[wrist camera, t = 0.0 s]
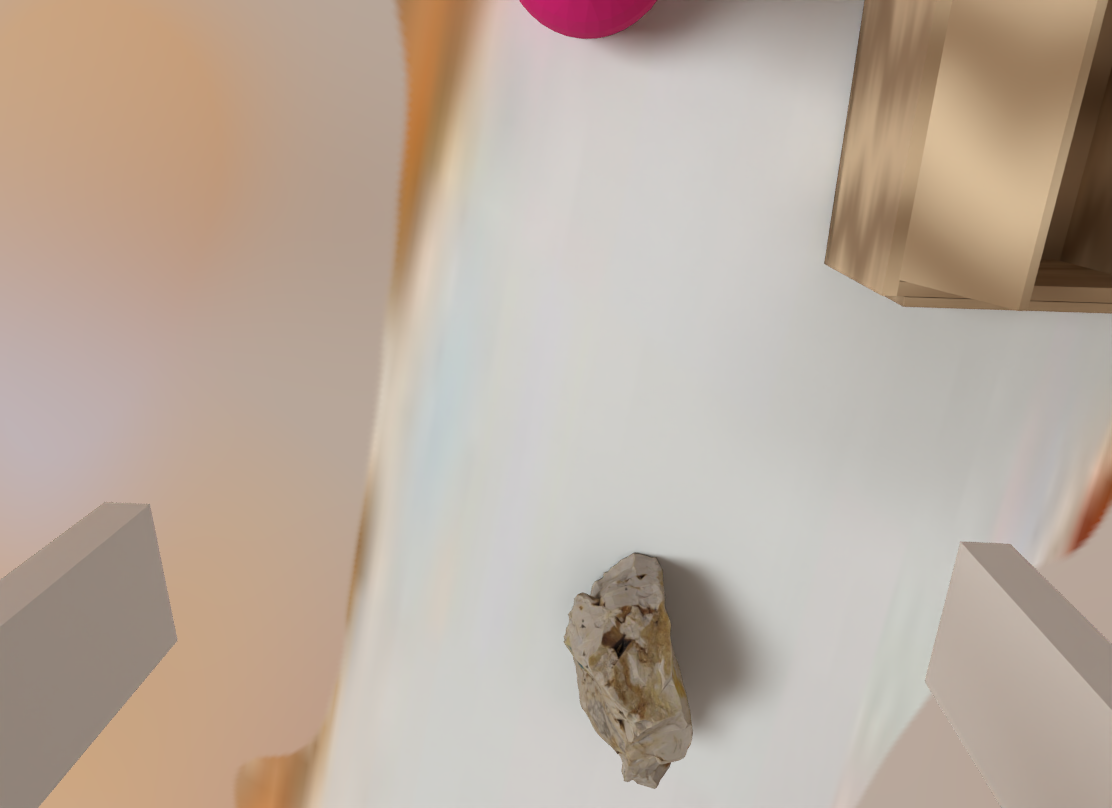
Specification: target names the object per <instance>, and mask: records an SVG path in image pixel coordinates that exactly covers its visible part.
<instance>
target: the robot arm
mask: <svg viewBox="0 0 1112 808" xmlns="http://www.w3.org/2000/svg"><path fill="white" fill-rule="evenodd" d="M176 641H177V636H176V631H175V626H174V621H173V616H172V611H171V606H170V602H169V596H168V591H167V586H166V581H165V577H164V572H163V567H162V562H161V557H160V552H159V547H158V542H157V537H156V532H155V527H154V522H153V517H152V513H151V508H150V504H134V503H113V502H104V503H103V504H102V505H100V506H99V507H98V508H96V509H95V510H94V511H92V512H91V513H90V514H88V515H87V516H86V517H84V518H83V519H82V520H80V521H79V522H77V523H76V524H75V525H73V526H72V527H71V528H69V529H68V530H67V531H65V532H64V533H63V534H61V535H60V536H59V537H57V538H56V539H54V540H53V541H52V542H50V543H49V544H48V545H47V546H45V547H44V548H42V549H41V550H40V551H38V552H37V553H36V554H34V555H33V556H32V557H30V558H29V559H28V560H26V561H25V562H24V563H22V564H21V565H20V566H18V567H17V568H15V569H14V570H13V571H11V572H10V573H9V574H7V575H6V576H5V577H3V578H2V579H1V580H0V808H38V807H39V806H40V805H41V803H42V802H43V801H44V800H45V799H46V798H47V796H48V795H49V794H50V793H51V792H52V790H53V789H54V788H55V787H56V786H57V784H58V783H59V782H60V781H61V780H62V778H63V777H64V776H65V775H66V773H67V772H68V771H69V770H70V769H71V768H72V766H73V765H74V764H75V763H76V762H77V760H78V759H79V758H80V757H81V755H82V754H83V753H84V752H85V751H86V750H87V748H88V747H89V746H90V745H91V743H92V742H93V741H94V740H95V739H96V738H97V736H98V735H99V734H100V733H101V731H102V730H103V729H104V728H105V727H106V726H107V724H108V723H109V722H110V721H111V720H112V718H113V717H114V716H115V715H116V714H117V712H118V711H119V710H120V709H121V708H122V706H123V705H124V704H125V703H126V702H127V700H128V699H129V698H130V697H131V696H132V694H133V693H134V692H135V691H136V690H137V688H138V687H139V686H140V685H141V684H142V682H143V681H144V680H145V679H146V678H147V676H148V675H149V674H150V673H151V671H152V670H153V669H154V668H155V667H156V666H157V664H158V663H159V662H160V661H161V660H162V658H163V657H164V656H165V655H166V654H167V652H168V651H169V650H170V649H171V648H172V646H173V645H174V644H175V643H176ZM925 683H926V684H927V686H928V688H929V689H930V691H931V693H932V694H933V696H934V698H935V699H936V701H937V702H938V704H939V706H940V707H941V709H942V711H943V712H944V714H945V716H946V717H947V719H948V721H949V722H950V724H951V726H952V727H953V729H954V731H955V732H956V734H957V736H958V737H959V739H960V741H961V742H962V744H963V746H964V747H965V749H966V750H967V752H968V754H969V756H970V757H971V759H972V761H973V762H974V764H975V766H976V767H977V769H978V771H979V772H980V774H981V775H982V777H983V779H984V780H985V782H986V784H987V785H988V787H989V789H990V790H991V792H992V794H993V795H994V797H995V799H996V800H997V802H998V804H999V805H1000V807H1001V808H1112V644H1111V643H1110V642H1109V641H1108V640H1107V639H1106V638H1105V637H1104V636H1103V635H1102V634H1101V633H1100V632H1099V631H1098V630H1097V629H1096V628H1095V627H1094V626H1093V625H1092V624H1091V623H1090V622H1089V621H1088V620H1087V619H1086V618H1085V617H1084V616H1083V615H1082V614H1081V613H1080V612H1079V611H1078V610H1077V609H1076V608H1075V607H1074V606H1073V605H1072V604H1070V602H1069V601H1068V600H1067V599H1066V598H1064V597H1063V596H1062V594H1061V593H1060V592H1059V591H1057V590H1056V589H1055V588H1054V587H1053V586H1052V585H1051V584H1050V583H1049V582H1048V581H1047V580H1046V579H1045V578H1044V577H1043V576H1042V575H1041V574H1040V573H1039V572H1038V571H1037V570H1036V569H1035V568H1034V567H1033V566H1032V565H1031V564H1030V563H1029V562H1028V561H1027V560H1026V559H1025V558H1024V557H1023V556H1022V555H1021V554H1020V553H1019V552H1018V551H1017V550H1016V549H1015V548H1014V547H1013V546H1012V545H1011V544H1001V543H979V542H960V545H959V549H958V553H957V557H956V561H955V564H954V568H953V572H952V576H951V580H950V584H949V588H948V592H947V596H946V600H945V604H944V608H943V611H942V615H941V619H940V623H939V627H938V631H937V635H936V639H935V643H934V647H933V651H932V654H931V658H930V662H929V666H928V670H927V674H926V678H925Z"/></svg>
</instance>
